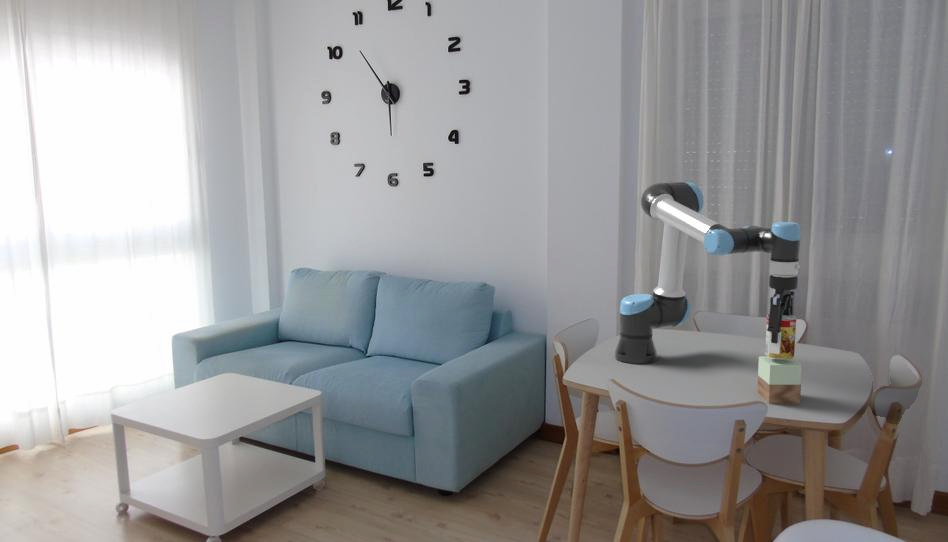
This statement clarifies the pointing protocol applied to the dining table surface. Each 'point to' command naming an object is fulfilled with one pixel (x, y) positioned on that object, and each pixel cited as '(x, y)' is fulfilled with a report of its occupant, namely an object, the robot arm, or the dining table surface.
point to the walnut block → (779, 392)
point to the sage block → (779, 371)
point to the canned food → (783, 338)
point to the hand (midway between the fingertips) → (779, 349)
